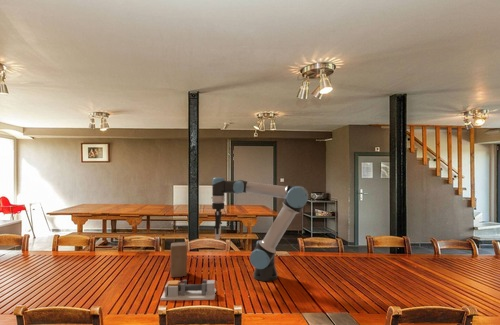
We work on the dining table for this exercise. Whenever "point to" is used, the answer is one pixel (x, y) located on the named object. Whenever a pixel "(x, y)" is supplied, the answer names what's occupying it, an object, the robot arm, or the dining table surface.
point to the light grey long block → (186, 293)
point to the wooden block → (178, 259)
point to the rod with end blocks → (195, 286)
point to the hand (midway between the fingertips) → (218, 236)
